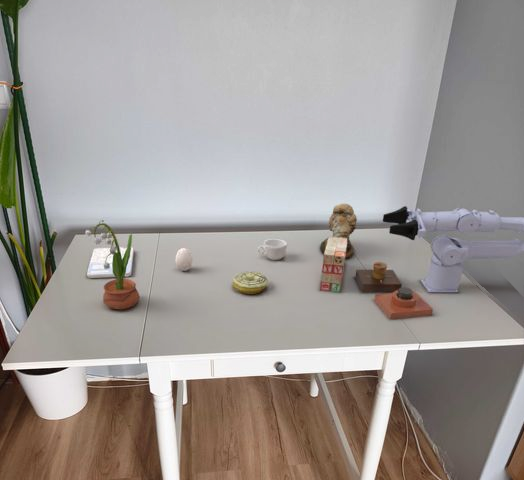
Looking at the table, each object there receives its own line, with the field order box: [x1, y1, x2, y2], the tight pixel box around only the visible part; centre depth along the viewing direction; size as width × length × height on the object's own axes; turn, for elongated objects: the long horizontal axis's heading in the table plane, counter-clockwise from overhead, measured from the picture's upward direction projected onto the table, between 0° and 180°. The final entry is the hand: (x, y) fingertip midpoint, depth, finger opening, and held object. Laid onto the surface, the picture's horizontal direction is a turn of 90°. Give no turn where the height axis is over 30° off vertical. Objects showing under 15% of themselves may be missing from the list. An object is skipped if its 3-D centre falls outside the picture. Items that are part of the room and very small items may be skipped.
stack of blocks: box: [319, 236, 347, 293], centre depth 158 cm, size 21×6×12 cm, turn 168°
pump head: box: [397, 287, 414, 300], centre depth 143 cm, size 4×4×2 cm
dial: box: [372, 261, 388, 279], centre depth 154 cm, size 4×4×4 cm
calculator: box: [86, 246, 135, 279], centre depth 163 cm, size 13×20×2 cm, turn 9°
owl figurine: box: [320, 203, 358, 261], centre depth 175 cm, size 18×12×17 cm, turn 1°
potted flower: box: [84, 220, 140, 310], centre depth 135 cm, size 12×10×25 cm
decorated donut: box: [232, 271, 270, 295], centre depth 152 cm, size 10×11×4 cm
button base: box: [373, 290, 434, 320], centre depth 145 cm, size 13×11×4 cm
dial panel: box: [354, 269, 403, 294], centre depth 156 cm, size 12×10×3 cm
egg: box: [175, 247, 193, 272], centre depth 160 cm, size 5×5×8 cm
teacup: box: [257, 238, 288, 261], centre depth 170 cm, size 10×8×5 cm
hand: (386, 223), depth 145 cm, fingers open, 7 cm apart
